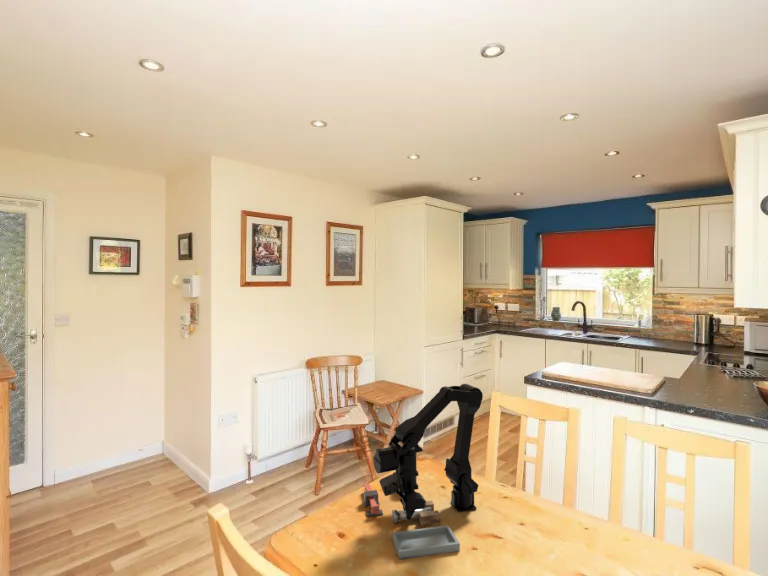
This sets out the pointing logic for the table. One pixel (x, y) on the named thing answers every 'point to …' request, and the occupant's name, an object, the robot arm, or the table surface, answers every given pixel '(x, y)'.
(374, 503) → the keeper bar
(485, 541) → the table surface
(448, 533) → the tray
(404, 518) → the pin
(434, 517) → the channel block
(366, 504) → the keeper guide
